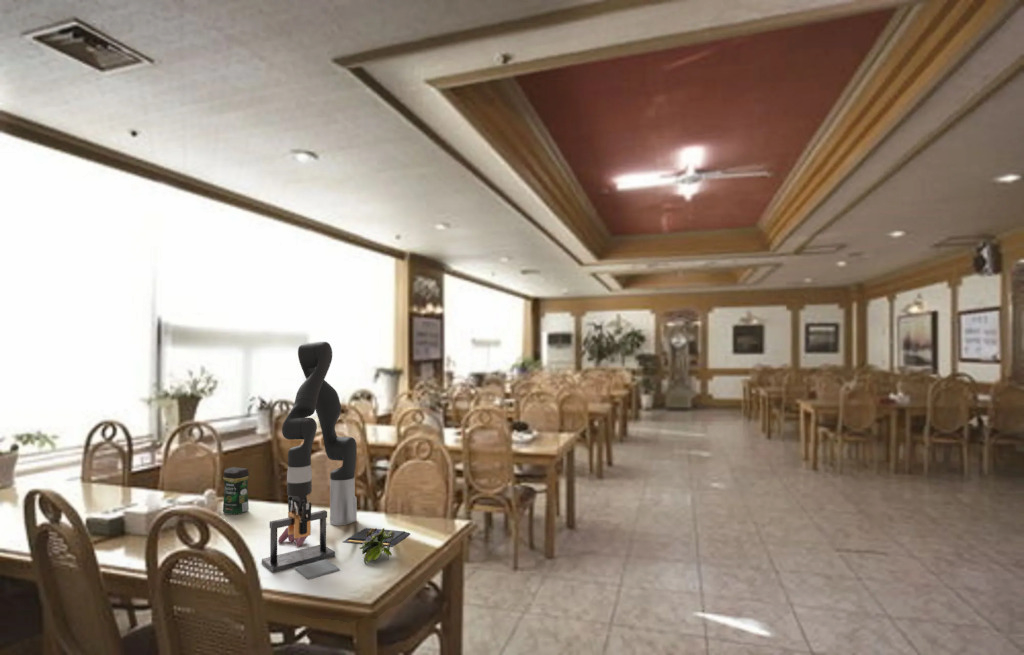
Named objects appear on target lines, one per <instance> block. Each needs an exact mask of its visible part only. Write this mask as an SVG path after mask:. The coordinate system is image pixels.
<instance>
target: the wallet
mask: <svg viewBox="0 0 1024 655" xmlns="http://www.w3.org/2000/svg"><path fill="white" fill-rule="evenodd" d="M371 529H373V527H372V528H370V527H365V528H363V529H361V530H360V531H359V530H358V531H357V532H356V533H354V534H352V535H350V536H349V537H347V538H346V539H345V540H343V541H342V543H344V544H355V545H363V542H364V541H366V539H365V538H368V537H369V536H368V537H367V536H366V534H367V531H371ZM382 529H383V528H377V530H376V531H375V532H376V533H377V531H379V530H382ZM385 530H386V531H387V532H386V534H387V535H389V534H388V533H389V532H391V531H392V532H394V537H393V539H392V537H391V538H388V539H386V541H385V542H383V546H384V547H386V548H387V547H388V546H389V544H390V541H391V539H392V541H391V544H390V548H393V547H394V546H396V545H397V544H399V543H401V542H402V541H403V540H405V539H406V538H408V537H409V536H410V535H411V533H410V532H407V531H404V530H393V529H385ZM375 532H374V533H372V534H375ZM370 536H371V535H370Z"/></svg>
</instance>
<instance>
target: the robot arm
mask: <svg viewBox="0 0 1024 655" xmlns="http://www.w3.org/2000/svg"><path fill="white" fill-rule="evenodd" d="M297 357H298V361H299V364H300V368H301V370H302V372H303V375H304V377H305V380H304V382H303V383H301V385H300V386H299V388H298V390H297V392H296V396H295V399H294V403H293V405H292V408H291V409H290V411H289V413H288V415H287V417H286V418H285V419H284V421H283V424H282V425H281V434H282V436H283V438H284V439H286V440H289V441H291V440H296V441H297V440H303V443H302V444H301V445H297V446H293V447H291V448H289V449H288V452H287V472H286V494H287V496H288V497H287V504H288V507H287V508H288V509H287V510H288V512H290V511H291V512H293V511H296V513H297V515H298V516H299V522H300V534H301V535H303V534H306V533H307V522H308V521H310V520H311V513H312V502H309V501H308V495H310V494H311V493H312V491H313V490H312V486H313V485H312V482H313V479H312V478H313V472H312V448H313V444H314V440H315V437H316V433H317V430H318V424H317V421H316V420H315V418H312V417H311V416H312V415H313V414H315V412H316V416H317V419H318V423H319V425H320V426H319V427H320V429H321V433H322V438H323V439H322V440H323V445H324V451H325V454H326V456H327V458H328V459H329V460H331V461H342V466H341V467H339V468H335V469H333V470H331V471H330V473H329V474H330V476H329V477H330V478H329V479H330V480H329V483H330V484H329V488H330V489H329V497H330V498H329V500H330V501H329V523H330V525H333V526H344V525H345V526H346V525H349V524H352V523H355V522H357V520H358V519H357V517H358V514H357V511H358V510H357V509H358V506H357V504H358V503H357V501H358V500H357V499H358V498H357V496H355V489H356V488H355V486H356V484H355V483H356V482H355V478H356V477H355V474H356V468H357V450H358V449H357V441H356V439H355V437H353V436H352V437H351V436H338V434H337V433H336V424H337V421H338V420H339V418H340V415H341V411H342V405H341V401H340V396H339V394H338V391H337V390H336V389H335V388H334V387H333V386H332V385H331V384H330V383H328V382H327V380H326V376H327V374H328V372H329V369H330V367H331V364H332V361H333V348H332V346H331V344H330V343H329V342H327V341H313V342H305V343H301V344H300V345H299V346H298V348H297ZM307 514H308V515H307ZM301 515H302V516H301Z"/></svg>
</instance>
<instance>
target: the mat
mask: <svg viewBox="0 0 1024 655" xmlns="http://www.w3.org/2000/svg"><path fill="white" fill-rule="evenodd" d="M294 570H295V571H296V572H297V573H299V574H300V575H301V576H302V577H304V578H305V579H306V580H311V579H313V578H317V577H320V576H324V575H328V574H330V573H335V572H338V571H340V567H339V566H337V565H335V564H334V563H332V562H331V561H329V560H328V559H324V560H320V561H316V562H312V563H308V564H305V565H301V566H297V567H294ZM310 578H311V579H310Z"/></svg>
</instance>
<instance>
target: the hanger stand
mask: <svg viewBox="0 0 1024 655" xmlns="http://www.w3.org/2000/svg"><path fill="white" fill-rule="evenodd" d="M327 518H328V511H327V510H325V509H323V510H319V511H314V512H311V522H312V521H317V520H319V544H317V545H312V546H310V547H305V548H300V549H297V550H293V551H288V552H285V553H280V554H278V529H279V528H284V527H285V528H286V527H288V526H290V525H294V519H293V518H291V517H289V518H288V517H284V518H281V519H280V518H279V519H275V520H269V529H270V536H269V537H270V540H269V542H270V543H269V544H270V546H269V547H270V553H269V554H270V555H269V556H267V557H264V558H261V565H263V566H264V567H265V568H266V569H268V571H270V572H271V573H274V574H275V573H278V572H282V571H285V570H289V569H293V568H295V567H299V566H303V565H307V564H310V563H314V562H318V561H322V560H325V559H326V560H328V559H331V558H334V557H336V551H334V550H333V549H332V548H330V547H328V546H327Z"/></svg>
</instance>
